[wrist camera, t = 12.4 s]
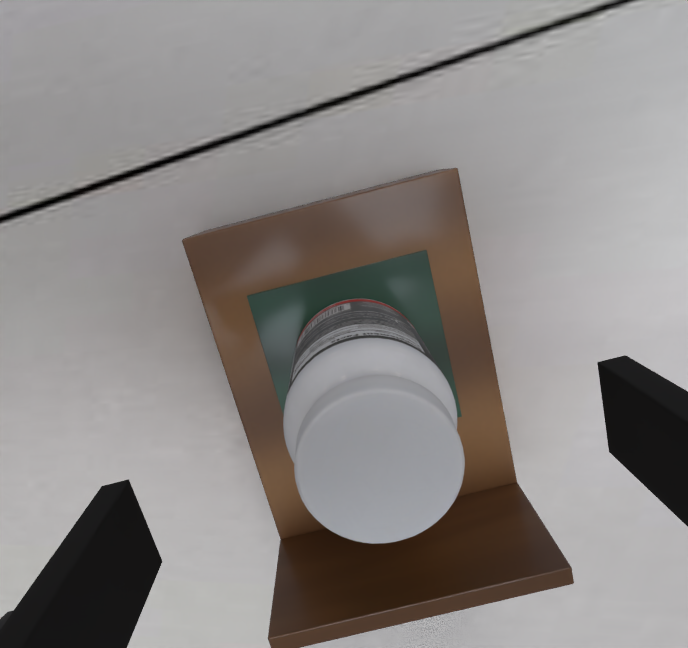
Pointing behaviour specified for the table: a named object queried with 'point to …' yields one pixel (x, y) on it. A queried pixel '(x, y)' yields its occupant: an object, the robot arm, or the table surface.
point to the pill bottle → (371, 425)
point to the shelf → (448, 352)
